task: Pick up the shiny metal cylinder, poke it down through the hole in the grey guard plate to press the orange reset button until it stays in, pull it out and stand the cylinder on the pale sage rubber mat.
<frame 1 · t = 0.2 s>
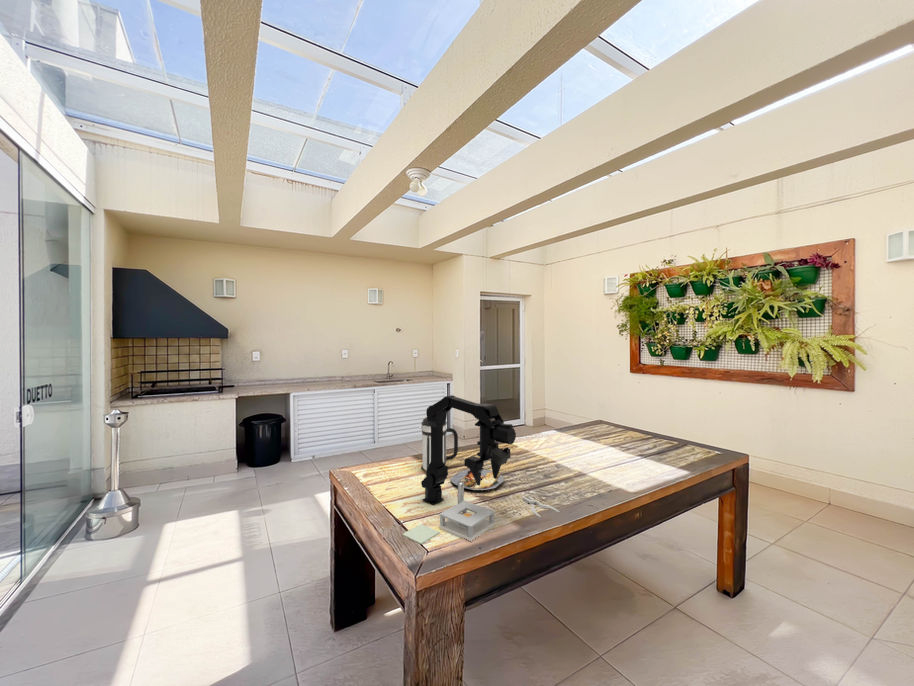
hand: (487, 481, 134), 14 cm above the table, fingers open, 9 cm apart
pliers: (537, 508, 145), on the table
grey square-hole box: (467, 526, 130), on the table
mat: (421, 534, 124), on the table
button: (467, 517, 130), point 3 cm above the table, slide at 0.0 cm
shiny metal cylinder: (460, 507, 144), on the table
coffee press: (436, 470, 186), on the table
food plate: (478, 483, 171), on the table
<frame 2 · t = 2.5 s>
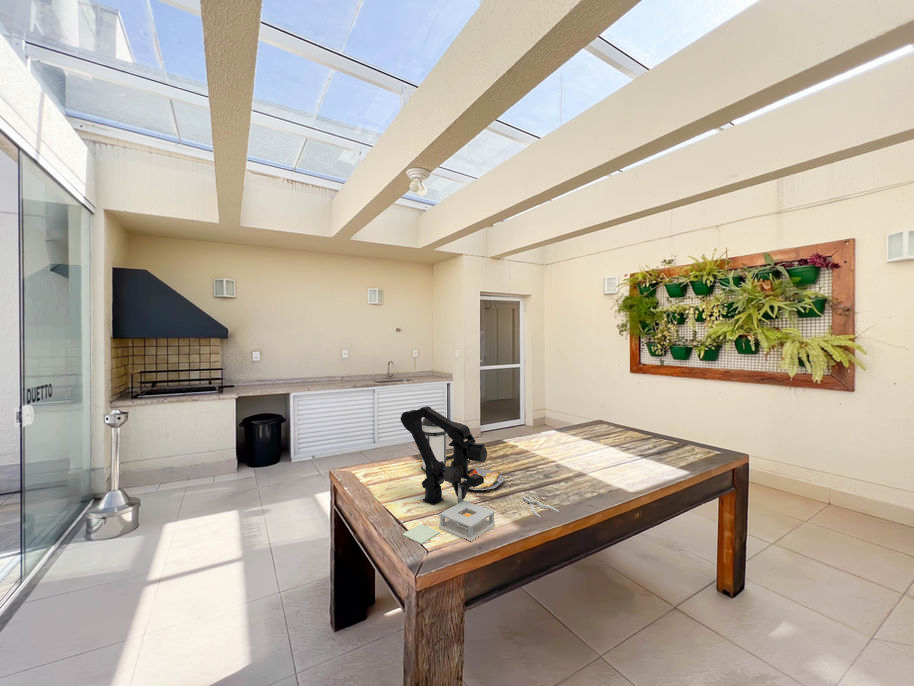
hand: (460, 497, 144), 4 cm above the table, fingers closed on shiny metal cylinder, 2 cm apart
shiny metal cylinder: (460, 507, 144), on the table, touching gripper
everything else where it was.
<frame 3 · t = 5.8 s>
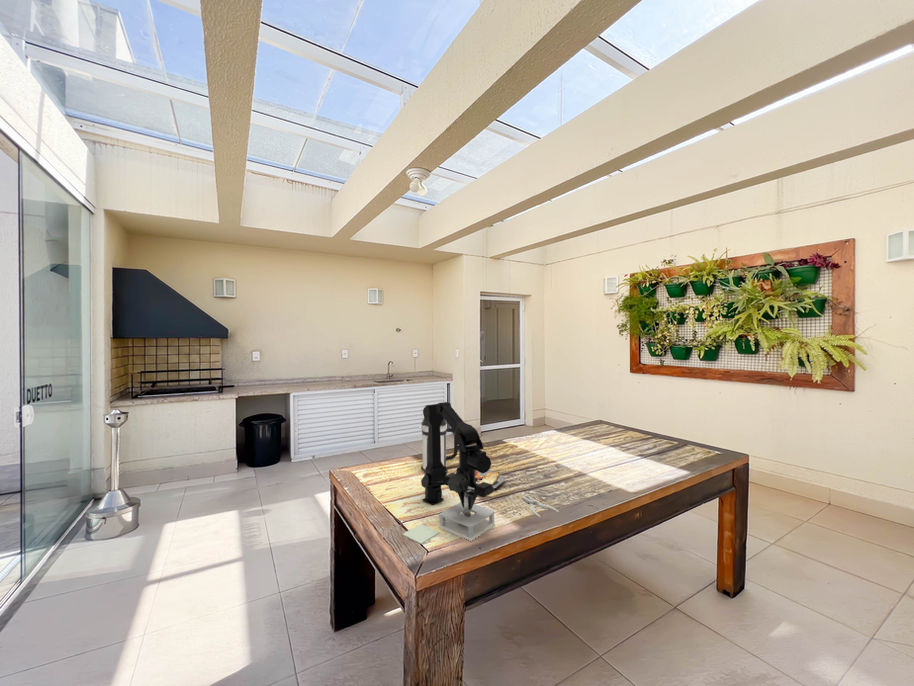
hand: (467, 508, 130), 6 cm above the table, fingers closed on shiny metal cylinder, 2 cm apart
button: (467, 521, 130), point 2 cm above the table, slide at 1.6 cm, touching shiny metal cylinder
shiny metal cylinder: (467, 519, 130), point 2 cm above the table, touching button, gripper
everything else where it was.
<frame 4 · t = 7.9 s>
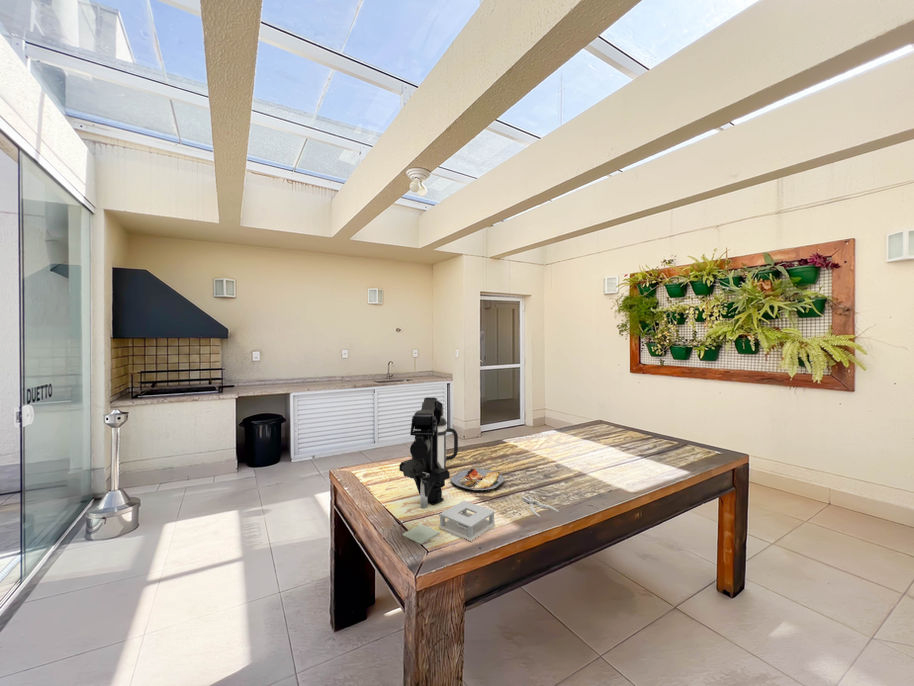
hand: (423, 495, 125), 13 cm above the table, fingers closed on shiny metal cylinder, 2 cm apart
button: (467, 521, 130), point 2 cm above the table, slide at 1.6 cm
shiny metal cylinder: (423, 507, 125), point 9 cm above the table, touching gripper
everything else where it was.
when the fingers open (6 cm above the table, at t = 9.6 s): shiny metal cylinder drops 1 cm, resting on mat.
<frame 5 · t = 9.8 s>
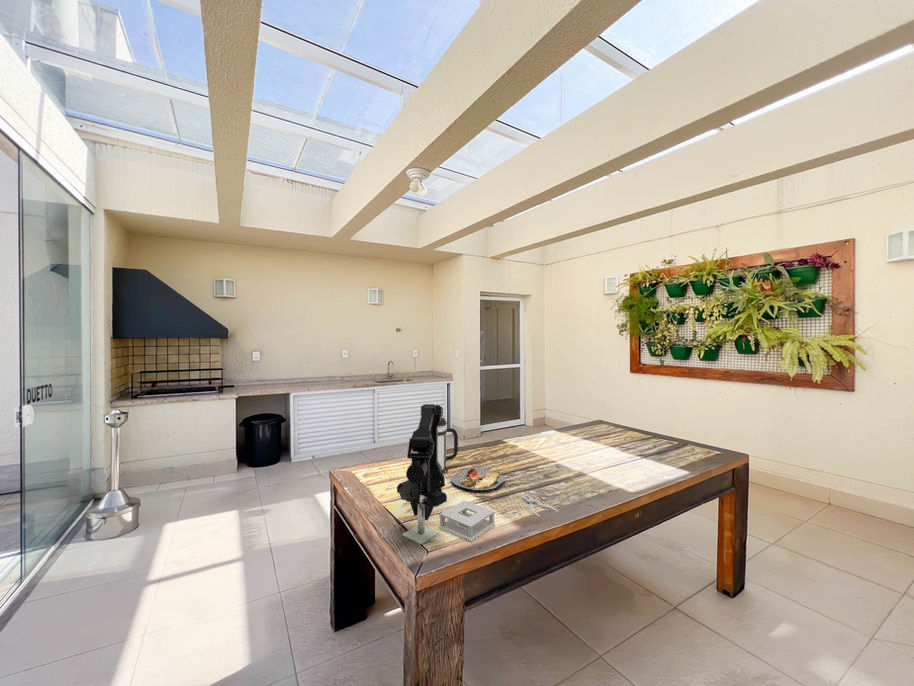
hand: (421, 517, 124), 6 cm above the table, fingers open, 5 cm apart
shiny metal cylinder: (421, 532, 125), resting on mat
everything else where it was.
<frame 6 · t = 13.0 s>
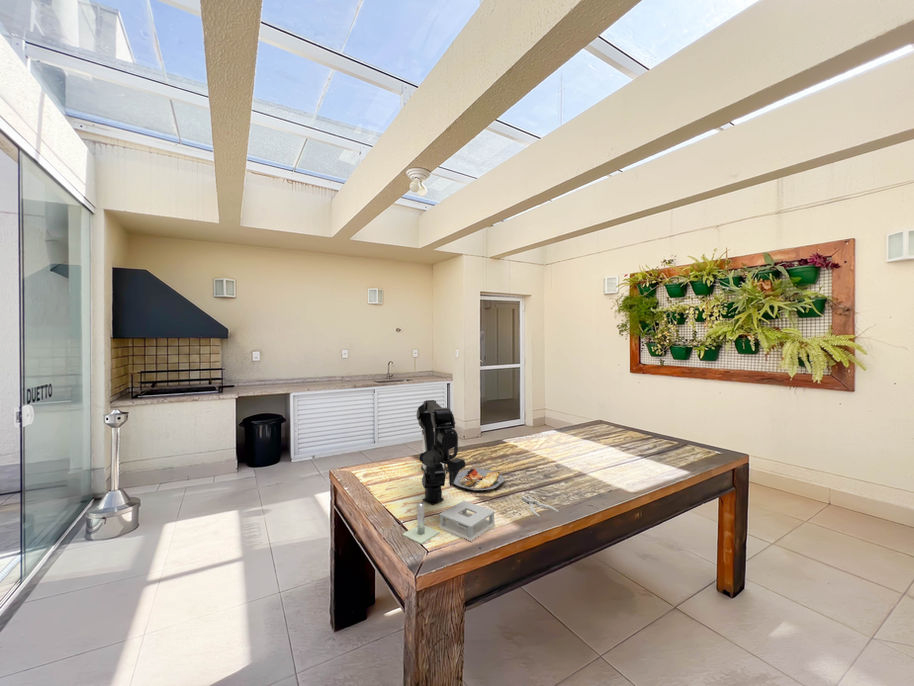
hand: (441, 483, 139), 12 cm above the table, fingers open, 9 cm apart
nothing on the table moved.
at the end: button slide at 1.6 cm; shiny metal cylinder inside the target area on the mat (0.1 cm from its centre), point 0.4 cm above the mat's base; the gripper is holding nothing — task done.
